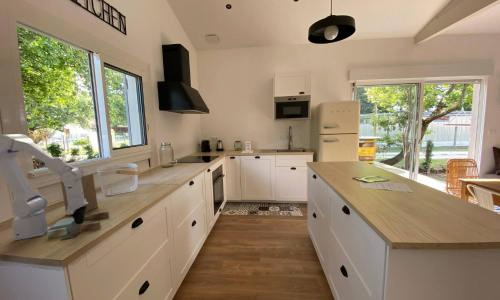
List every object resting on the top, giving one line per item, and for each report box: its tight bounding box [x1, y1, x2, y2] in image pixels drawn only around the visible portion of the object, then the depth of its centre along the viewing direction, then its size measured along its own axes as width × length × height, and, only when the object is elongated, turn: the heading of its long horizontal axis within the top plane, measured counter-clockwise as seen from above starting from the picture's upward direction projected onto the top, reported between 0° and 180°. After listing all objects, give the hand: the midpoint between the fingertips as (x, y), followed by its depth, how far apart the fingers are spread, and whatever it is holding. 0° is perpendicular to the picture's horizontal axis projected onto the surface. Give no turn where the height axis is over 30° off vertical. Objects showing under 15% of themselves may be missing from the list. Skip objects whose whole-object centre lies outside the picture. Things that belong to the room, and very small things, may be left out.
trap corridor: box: [46, 210, 110, 241], centre depth 91 cm, size 18×22×3 cm
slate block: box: [49, 216, 81, 234], centre depth 89 cm, size 7×8×4 cm
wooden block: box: [59, 173, 99, 215], centre depth 110 cm, size 10×10×20 cm
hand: (80, 223), depth 91 cm, fingers closed
